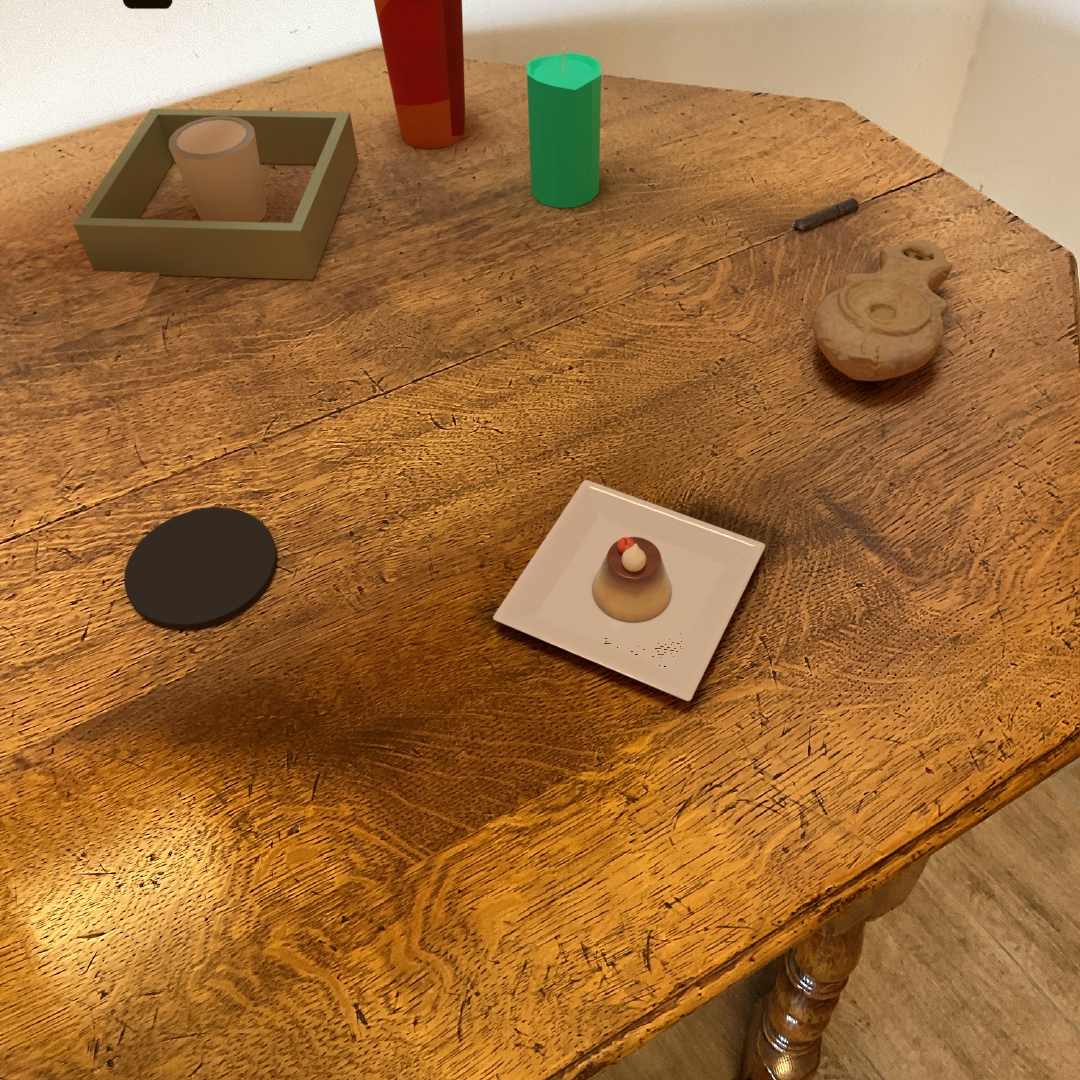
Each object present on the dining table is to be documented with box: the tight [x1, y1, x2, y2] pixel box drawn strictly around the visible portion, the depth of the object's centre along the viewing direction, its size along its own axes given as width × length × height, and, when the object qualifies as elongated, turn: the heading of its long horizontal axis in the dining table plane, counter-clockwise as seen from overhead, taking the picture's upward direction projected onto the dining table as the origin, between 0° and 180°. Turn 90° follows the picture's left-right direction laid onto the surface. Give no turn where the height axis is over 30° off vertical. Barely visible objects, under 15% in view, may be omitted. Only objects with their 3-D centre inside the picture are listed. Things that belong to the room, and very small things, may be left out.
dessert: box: [492, 479, 766, 702], centre depth 57 cm, size 12×12×5 cm
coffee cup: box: [373, 0, 466, 150], centre depth 87 cm, size 8×8×15 cm
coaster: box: [123, 506, 278, 631], centre depth 60 cm, size 9×9×1 cm
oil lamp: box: [812, 239, 953, 382], centre depth 71 cm, size 11×14×5 cm
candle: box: [526, 47, 602, 209], centre depth 82 cm, size 6×6×12 cm
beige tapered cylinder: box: [169, 116, 268, 222], centre depth 83 cm, size 7×7×7 cm
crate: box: [73, 108, 359, 281], centre depth 84 cm, size 18×18×4 cm
